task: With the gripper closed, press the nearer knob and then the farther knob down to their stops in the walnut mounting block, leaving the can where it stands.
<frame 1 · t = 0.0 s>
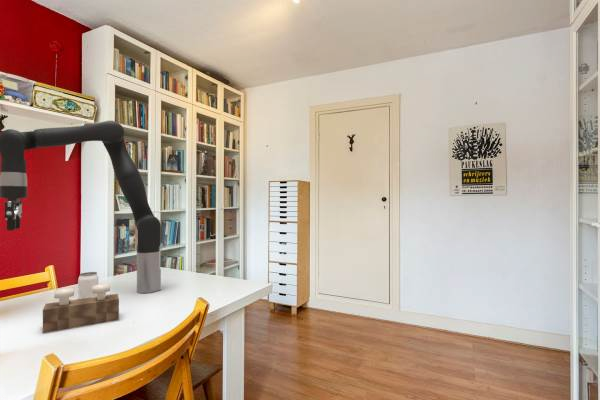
hand: (13, 229, 117), 29 cm above the table, tool pointing down, fingers open, 8 cm apart
mount: (83, 322, 104), on the table
knob 2: (101, 296, 107), point 8 cm above the table, slide at 0.0 cm
can: (88, 305, 122), on the table
knob 1: (64, 301, 102), point 8 cm above the table, slide at 0.0 cm
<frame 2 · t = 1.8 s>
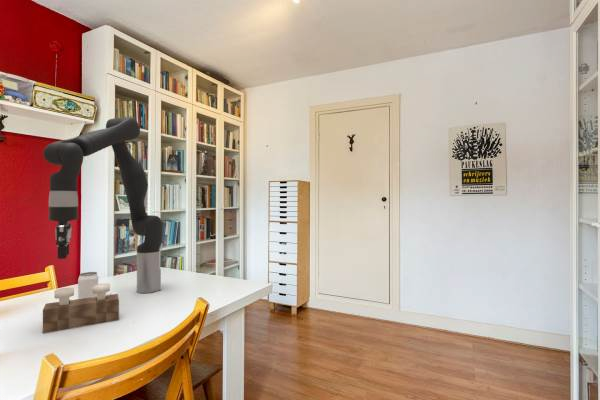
hand: (63, 256, 102), 22 cm above the table, tool pointing down, fingers open, 7 cm apart
nothing on the table moved.
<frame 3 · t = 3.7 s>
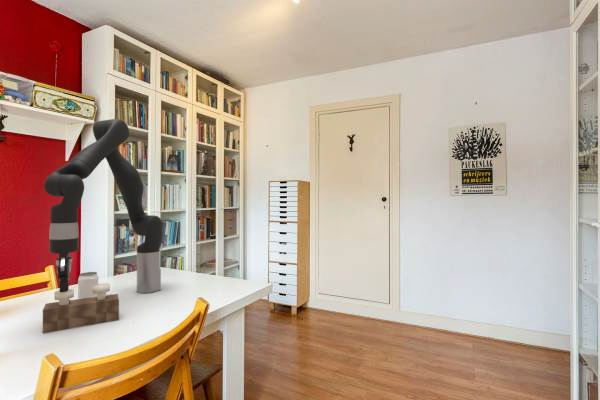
hand: (64, 291, 102), 11 cm above the table, tool pointing down, fingers closed
knob 1: (64, 303, 102), point 7 cm above the table, slide at 0.5 cm, touching gripper
everything else where it was.
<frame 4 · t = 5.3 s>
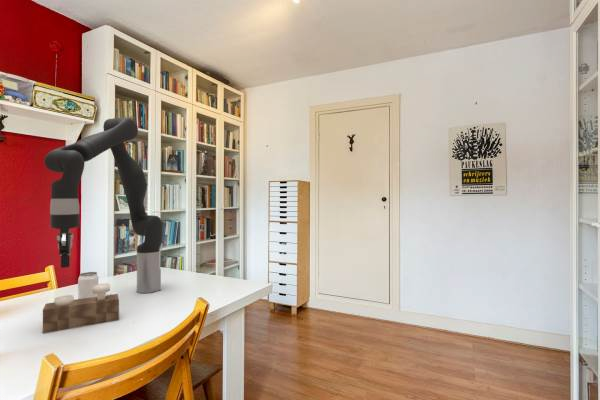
hand: (65, 267, 102), 19 cm above the table, tool pointing down, fingers closed
knob 1: (64, 309, 102), point 5 cm above the table, slide at 2.5 cm
everything else where it was.
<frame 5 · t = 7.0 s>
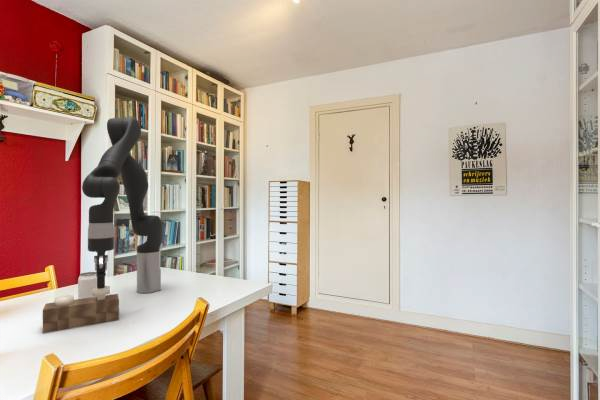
hand: (100, 287, 107), 11 cm above the table, tool pointing down, fingers closed
knob 2: (101, 298, 107), point 7 cm above the table, slide at 0.8 cm, touching gripper
everything else where it was.
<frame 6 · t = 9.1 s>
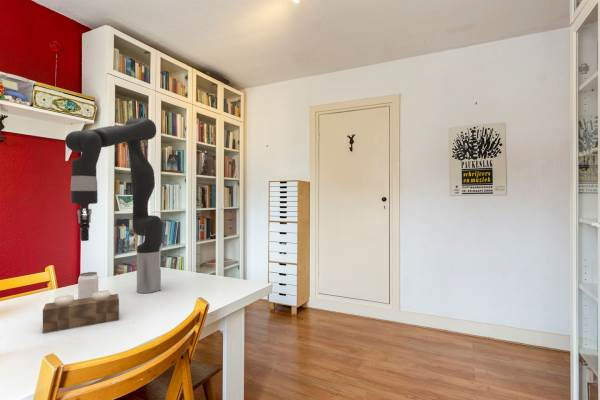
hand: (84, 240, 109), 26 cm above the table, tool pointing down, fingers closed
knob 2: (101, 303, 107), point 5 cm above the table, slide at 2.5 cm
everything else where it was.
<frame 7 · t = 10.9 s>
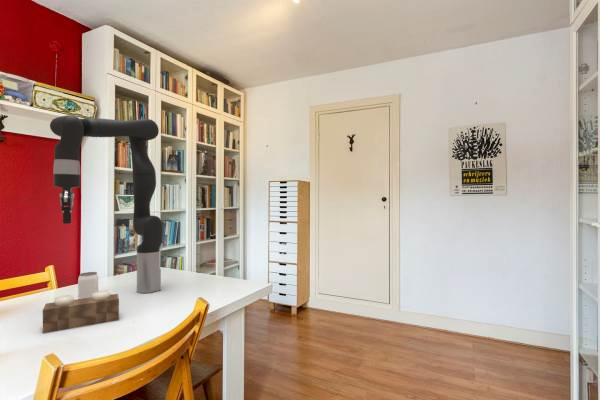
hand: (67, 223, 111), 32 cm above the table, tool pointing down, fingers closed
nothing on the table moved.
at the end: knob 1 slide at 2.5 cm; knob 2 slide at 2.5 cm; can moved 0.2 cm from its start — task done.
